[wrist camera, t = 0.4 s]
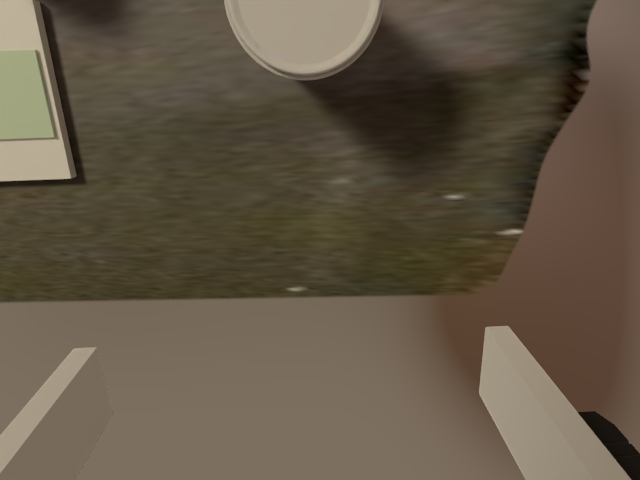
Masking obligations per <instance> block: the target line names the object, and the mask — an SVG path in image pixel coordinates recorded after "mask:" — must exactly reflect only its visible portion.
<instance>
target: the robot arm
mask: <svg viewBox="0 0 640 480" xmlns="http://www.w3.org/2000/svg"><path fill="white" fill-rule="evenodd" d="M479 395H480V396H481V398H482V400H483V402H484V404H485V406H486V407H487V409H488V411H489V413H490V415H491V417H492V418H493V420H494V422H495V424H496V426H497V427H498V429H499V431H500V433H501V435H502V437H503V439H504V441H505V443H506V444H507V446H508V448H509V450H510V452H511V453H512V455H513V457H514V459H515V461H516V463H517V464H518V467H519V468H520V470H521V472H522V474H523V476H524V478H525V479H526V480H640V453H639V452H638V451H637V450H636V449H635V448H634V447H633V445H632V444H629V442H628V440H627V439H626V437H624V435H623V434H622V433H621V432H620V431H619V430H618V428H617V427H616V426H615V425H614V424H612V423H611V422H609V421H608V420H606V419H605V418H604V417H602V416H601V415H599V414H598V413H596V412H595V411H594V412H577V411H576V410H575V409H574V408H573V406H572V405H571V404H570V402H569V401H568V400H567V399H566V398H565V396H564V395H563V394H562V393H561V391H560V390H559V389H558V388H557V386H556V385H555V384H554V383H553V381H552V380H551V379H550V378H549V376H548V375H547V374H546V373H545V371H544V370H543V369H542V368H541V366H540V365H539V364H538V363H537V361H536V360H535V359H534V358H533V356H532V355H531V354H530V353H529V352H528V350H527V349H526V348H525V346H524V345H523V344H522V343H521V341H520V340H519V339H518V338H517V336H516V335H515V334H514V333H513V332H512V331H511V329H510V328H509V327H508V326H498V327H486V328H485V338H484V348H483V358H482V368H481V379H480V389H479ZM112 415H113V409H112V405H111V401H110V397H109V393H108V389H107V385H106V382H105V377H104V374H103V370H102V366H101V362H100V358H99V354H98V350H97V347H93V348H75V349H73V350H72V351H71V353H70V354H69V355H68V356H67V357H66V358H65V360H64V361H63V362H62V363H61V364H60V366H59V367H58V368H57V369H56V370H55V372H54V373H53V374H52V375H51V376H50V377H49V379H48V380H47V381H46V382H45V383H44V384H43V386H42V387H41V388H40V389H39V390H38V392H37V393H36V394H35V395H34V396H33V397H32V399H31V400H30V401H29V402H28V403H27V404H26V406H25V407H24V408H23V409H22V410H21V412H20V413H19V414H18V415H17V416H16V417H15V419H14V420H13V421H12V422H11V423H10V425H9V426H8V427H7V428H6V429H5V430H4V432H3V433H2V434H1V435H0V480H76V478H77V477H78V475H79V473H80V471H81V469H82V468H83V466H84V464H85V462H86V461H87V459H88V457H89V455H90V454H91V452H92V450H93V448H94V447H95V445H96V443H97V441H98V440H99V438H100V436H101V434H102V433H103V431H104V429H105V427H106V425H107V424H108V422H109V420H110V418H111V417H112Z"/></svg>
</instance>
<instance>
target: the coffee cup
mask: <svg viewBox="0 0 640 480" xmlns="http://www.w3.org/2000/svg"><path fill="white" fill-rule="evenodd" d="M224 2H225V8H226V12H227V16H228V19H229V22H230V25H231V27H232V30H233V32H234V34H235V36H236V37H237V39H238V41H239V43H240V44H241V45H242V47H243V48H244V50H245V51H246V52H247V53H248V54H249V55H250V56H251V57H252V58H253V59H254V60H255V61H256V62H257V63H258V64H260V65H261V66H262V67H264V68H265V69H267V70H269V71H270V72H272V73H275V74H277V75H279V76H282V77H285V78H289V79H294V80H316V79H322V78H325V77H329V76H331V75H334V74H336V73H338V72H340V71H342V70H343V69H345V68H346V67H348V66H349V65H351V64H352V63H353V62H354V61H355V60H357V59H358V58H359V56H360V55H361V54H362V53H363V52H364V51H365V49H366V48H367V47H368V45H369V44H370V42H371V41H372V39H373V37H374V35H375V33H376V31H377V28H378V26H379V23H380V20H381V16H382V12H383V6H384V0H224Z"/></svg>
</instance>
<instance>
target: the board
mask: <svg viewBox="0 0 640 480" xmlns="http://www.w3.org/2000/svg"><path fill="white" fill-rule="evenodd" d="M74 177H77V175H76V171H75V166H74V161H73V157H72V152H71V147H70V143H69V138H68V133H67V128H66V124H65V119H64V114H63V110H62V105H61V100H60V96H59V91H58V86H57V81H56V77H55V72H54V67H53V63H52V58H51V53H50V49H49V44H48V39H47V35H46V30H45V25H44V20H43V16H42V11H41V6H40V2H39V1H36V0H0V181H23V180H49V179H72V178H74Z"/></svg>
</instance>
